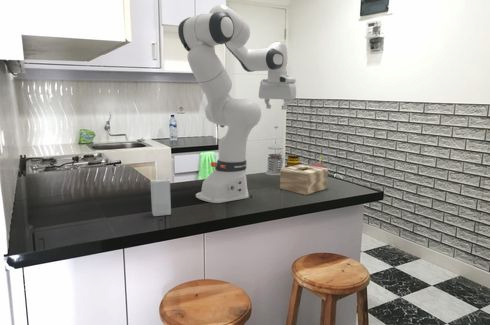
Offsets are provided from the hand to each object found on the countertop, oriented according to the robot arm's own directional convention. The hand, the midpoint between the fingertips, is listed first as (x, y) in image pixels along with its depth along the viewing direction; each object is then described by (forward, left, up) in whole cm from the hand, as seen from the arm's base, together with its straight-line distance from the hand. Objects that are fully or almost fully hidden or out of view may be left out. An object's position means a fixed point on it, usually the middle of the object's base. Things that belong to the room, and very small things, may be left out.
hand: (276, 109), depth 174 cm
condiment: (+8, -5, -34) cm, 36 cm away
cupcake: (+21, -11, -34) cm, 42 cm away
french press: (+11, +8, -34) cm, 37 cm away
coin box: (-3, -20, -34) cm, 40 cm away
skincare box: (-69, -8, -34) cm, 78 cm away
